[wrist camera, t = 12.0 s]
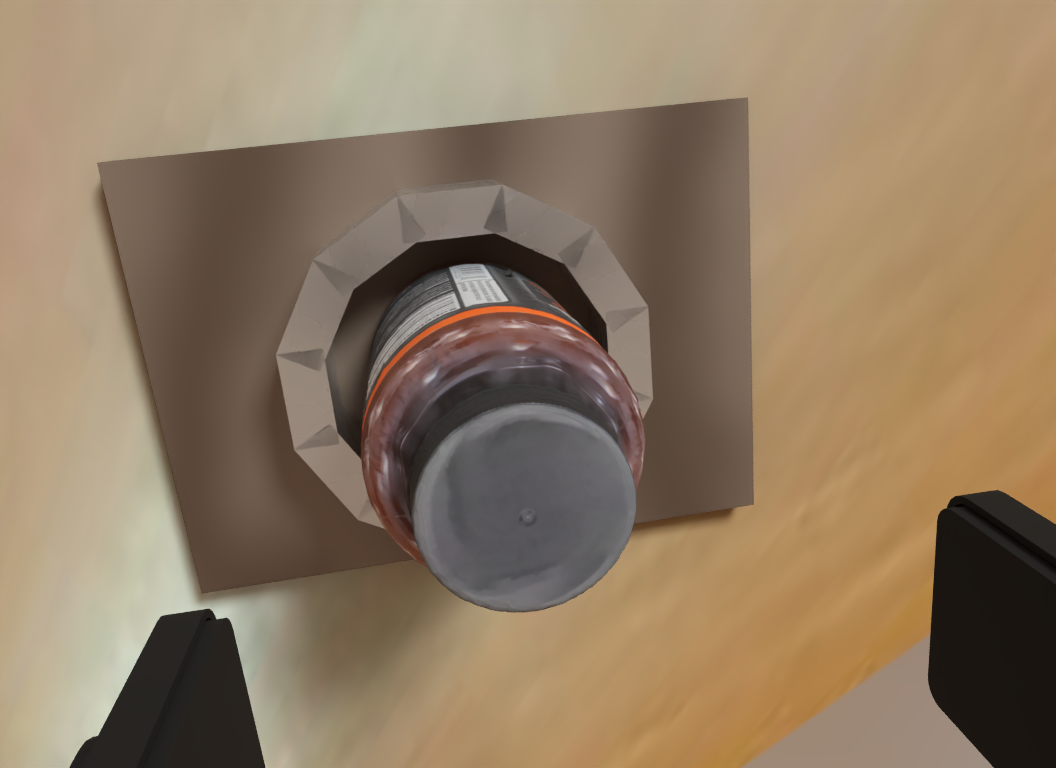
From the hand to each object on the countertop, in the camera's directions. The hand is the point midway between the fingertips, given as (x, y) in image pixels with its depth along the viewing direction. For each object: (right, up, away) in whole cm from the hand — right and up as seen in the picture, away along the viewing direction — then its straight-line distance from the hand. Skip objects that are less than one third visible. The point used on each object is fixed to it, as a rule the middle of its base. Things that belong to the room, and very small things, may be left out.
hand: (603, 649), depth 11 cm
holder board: (-3, +5, +15) cm, 16 cm away
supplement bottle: (-3, +4, +14) cm, 15 cm away
